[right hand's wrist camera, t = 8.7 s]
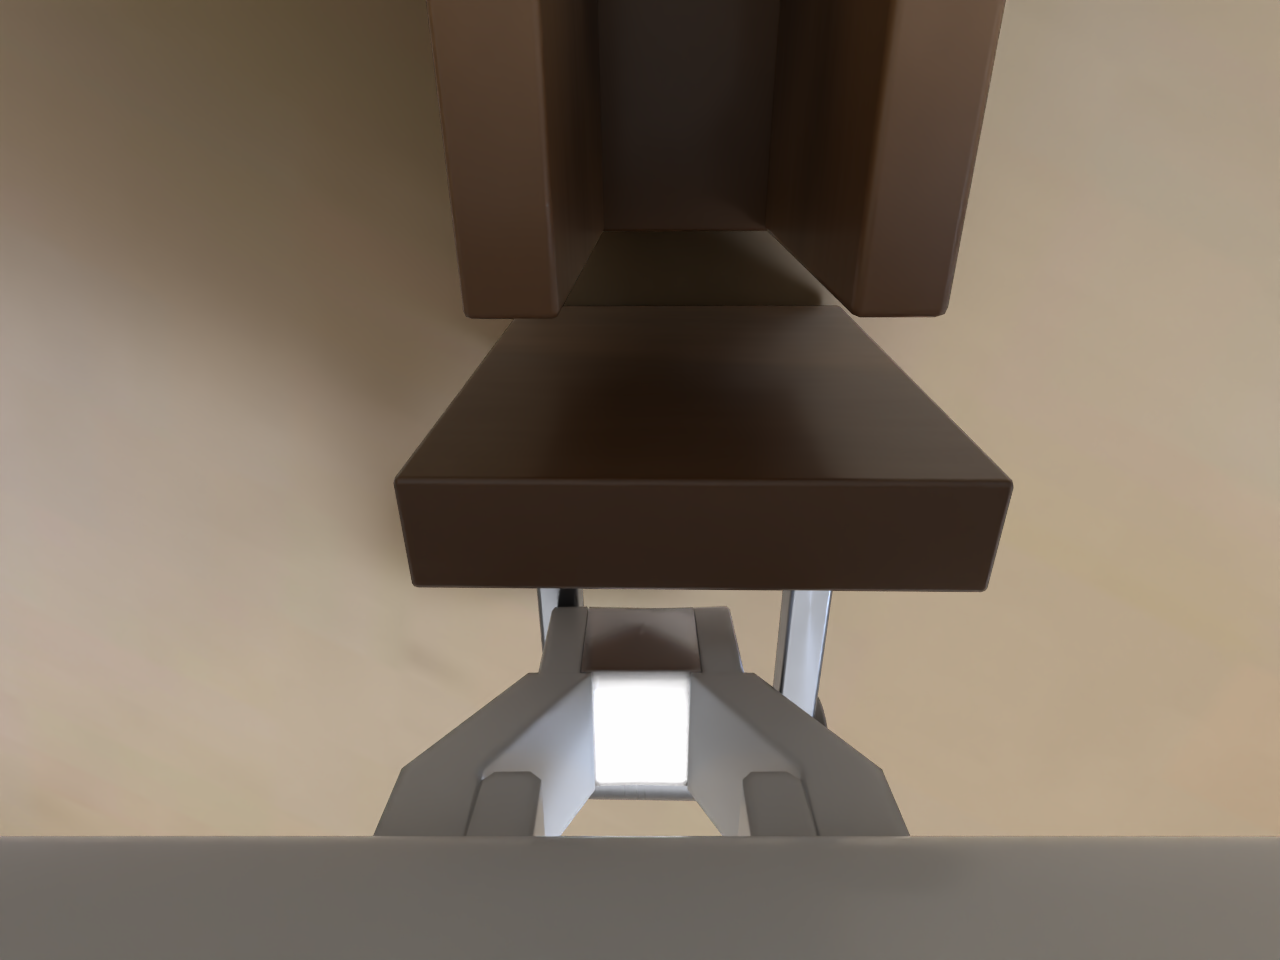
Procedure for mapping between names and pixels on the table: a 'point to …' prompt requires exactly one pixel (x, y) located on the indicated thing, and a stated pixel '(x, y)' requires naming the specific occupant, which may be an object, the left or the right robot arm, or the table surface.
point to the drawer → (706, 308)
